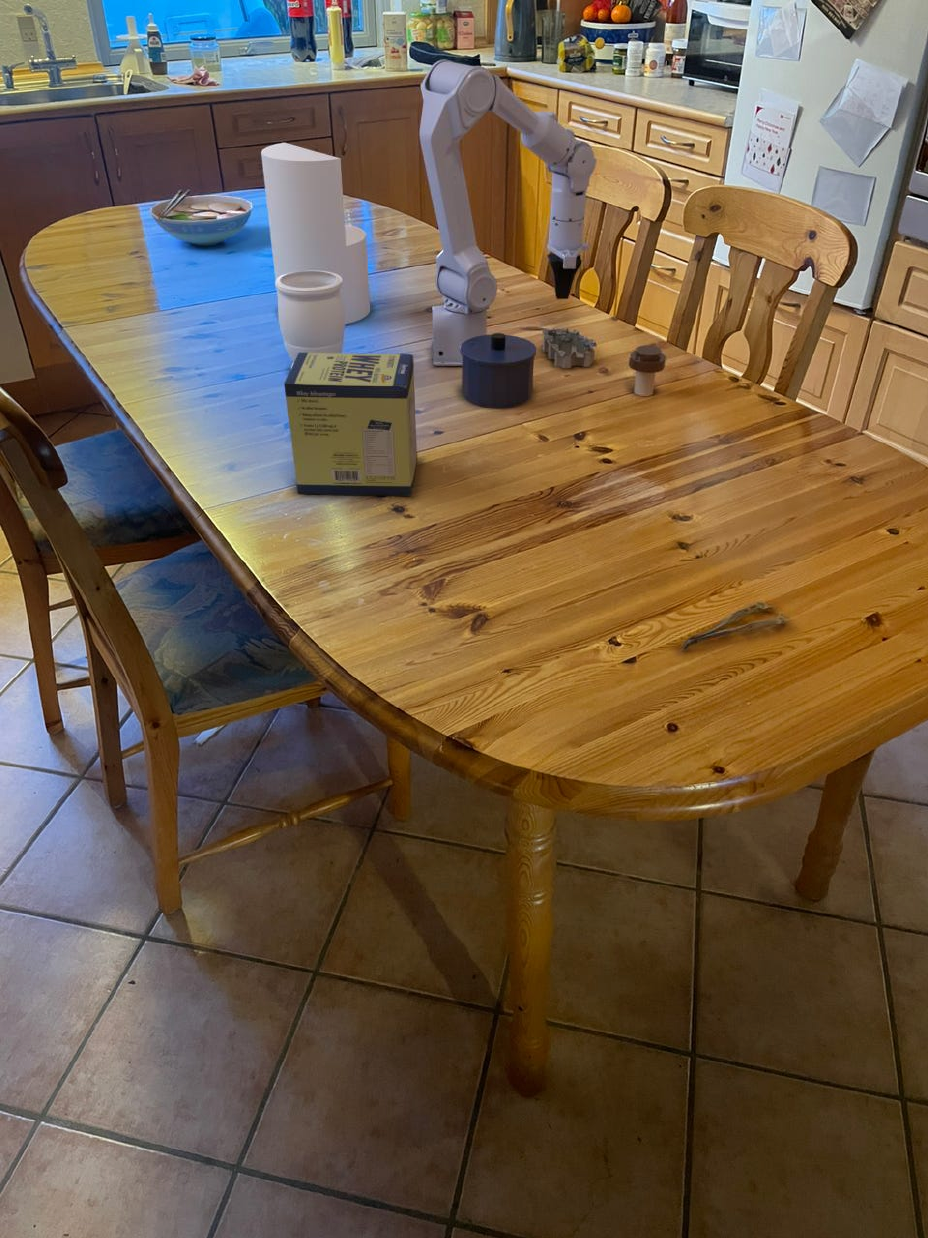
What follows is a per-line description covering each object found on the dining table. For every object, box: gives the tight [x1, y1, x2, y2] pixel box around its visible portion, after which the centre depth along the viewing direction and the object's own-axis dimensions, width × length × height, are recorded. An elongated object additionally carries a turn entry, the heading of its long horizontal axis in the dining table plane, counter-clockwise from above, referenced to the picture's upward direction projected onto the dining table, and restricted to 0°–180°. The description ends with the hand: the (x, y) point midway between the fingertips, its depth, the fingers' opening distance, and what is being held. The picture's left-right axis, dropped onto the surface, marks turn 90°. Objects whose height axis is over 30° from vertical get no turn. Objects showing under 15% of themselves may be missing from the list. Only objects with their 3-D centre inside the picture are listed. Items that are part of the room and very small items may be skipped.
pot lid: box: [460, 332, 537, 366], centre depth 146 cm, size 12×12×3 cm
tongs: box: [681, 601, 788, 652], centre depth 101 cm, size 4×13×2 cm, turn 122°
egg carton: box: [541, 327, 598, 370], centre depth 162 cm, size 11×8×4 cm
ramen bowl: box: [149, 189, 253, 247], centre depth 215 cm, size 25×23×8 cm
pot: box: [461, 356, 535, 409], centre depth 149 cm, size 11×11×7 cm
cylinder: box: [260, 142, 371, 325], centre depth 173 cm, size 17×17×28 cm
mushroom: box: [628, 345, 667, 397], centre depth 150 cm, size 6×6×7 cm
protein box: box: [283, 352, 418, 497], centre depth 124 cm, size 10×16×16 cm
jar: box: [274, 270, 346, 369], centre depth 154 cm, size 11×10×15 cm
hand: (561, 297), depth 169 cm, fingers closed
